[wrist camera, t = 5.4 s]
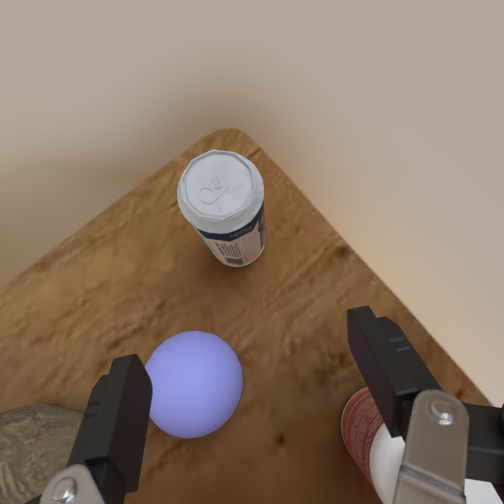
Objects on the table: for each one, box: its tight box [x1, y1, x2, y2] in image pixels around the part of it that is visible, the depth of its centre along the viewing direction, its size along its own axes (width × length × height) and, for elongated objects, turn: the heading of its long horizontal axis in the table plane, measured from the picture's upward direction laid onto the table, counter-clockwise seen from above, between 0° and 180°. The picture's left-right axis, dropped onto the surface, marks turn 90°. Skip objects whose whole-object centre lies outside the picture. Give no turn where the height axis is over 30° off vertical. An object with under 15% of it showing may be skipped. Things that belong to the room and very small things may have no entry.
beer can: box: [177, 150, 265, 267], centre depth 23 cm, size 5×5×12 cm
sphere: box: [145, 330, 243, 439], centre depth 23 cm, size 7×7×7 cm
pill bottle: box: [341, 387, 503, 504], centre depth 20 cm, size 6×6×11 cm
